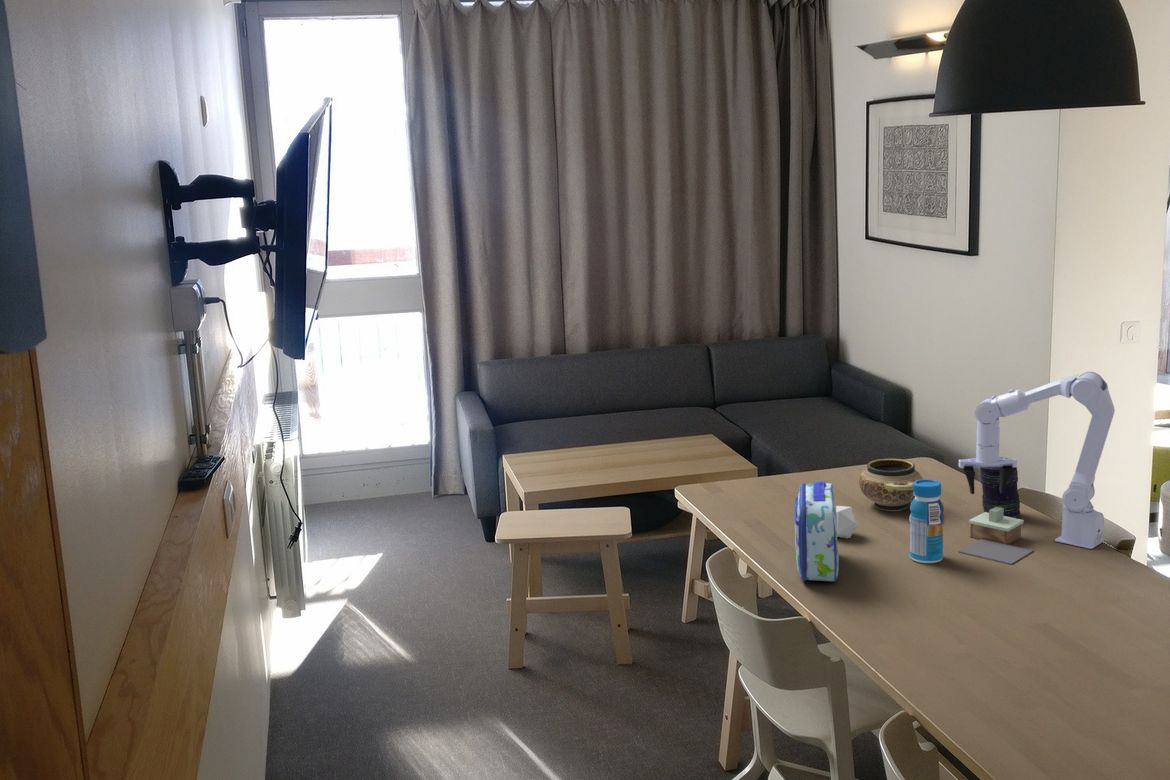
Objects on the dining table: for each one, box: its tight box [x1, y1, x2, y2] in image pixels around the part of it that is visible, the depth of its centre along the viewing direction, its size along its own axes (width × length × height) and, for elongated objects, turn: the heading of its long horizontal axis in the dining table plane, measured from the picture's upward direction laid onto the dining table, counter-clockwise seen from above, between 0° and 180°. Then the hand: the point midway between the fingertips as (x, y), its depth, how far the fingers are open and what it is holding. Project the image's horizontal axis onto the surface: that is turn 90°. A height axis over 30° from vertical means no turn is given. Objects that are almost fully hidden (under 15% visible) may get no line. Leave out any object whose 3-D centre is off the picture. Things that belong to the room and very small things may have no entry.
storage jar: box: [979, 456, 1021, 519], centre depth 301 cm, size 10×10×15 cm
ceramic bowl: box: [858, 458, 924, 512], centre depth 313 cm, size 24×18×15 cm
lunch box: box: [794, 480, 840, 582], centre depth 268 cm, size 26×11×21 cm, turn 168°
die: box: [836, 505, 859, 539], centre depth 292 cm, size 8×9×10 cm
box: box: [970, 524, 1022, 545], centre depth 285 cm, size 10×8×4 cm
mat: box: [958, 539, 1034, 566], centre depth 275 cm, size 14×12×1 cm
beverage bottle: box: [908, 478, 945, 564], centre depth 271 cm, size 8×8×20 cm
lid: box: [968, 507, 1024, 531], centre depth 284 cm, size 11×9×4 cm
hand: (986, 492), depth 290 cm, fingers open, 7 cm apart
